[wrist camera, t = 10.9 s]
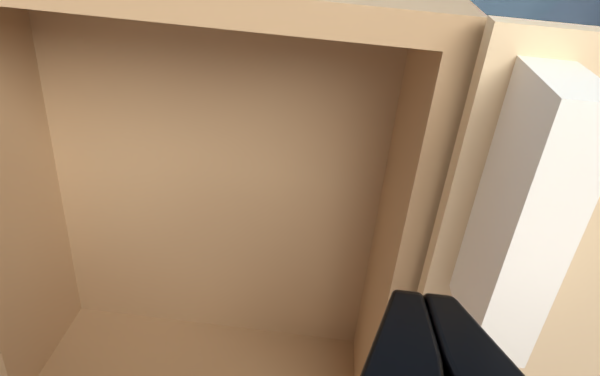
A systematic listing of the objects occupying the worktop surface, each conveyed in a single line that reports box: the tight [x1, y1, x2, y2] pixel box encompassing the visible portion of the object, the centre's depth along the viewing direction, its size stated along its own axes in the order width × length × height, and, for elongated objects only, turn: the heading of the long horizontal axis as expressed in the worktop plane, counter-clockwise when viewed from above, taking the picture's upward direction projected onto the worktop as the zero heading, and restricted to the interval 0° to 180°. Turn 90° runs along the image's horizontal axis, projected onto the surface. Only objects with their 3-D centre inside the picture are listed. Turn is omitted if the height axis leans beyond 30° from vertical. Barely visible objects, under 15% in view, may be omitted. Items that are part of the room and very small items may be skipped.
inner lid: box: [417, 15, 600, 376], centre depth 13 cm, size 7×16×3 cm, turn 175°
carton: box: [0, 0, 488, 376], centre depth 18 cm, size 14×16×6 cm
